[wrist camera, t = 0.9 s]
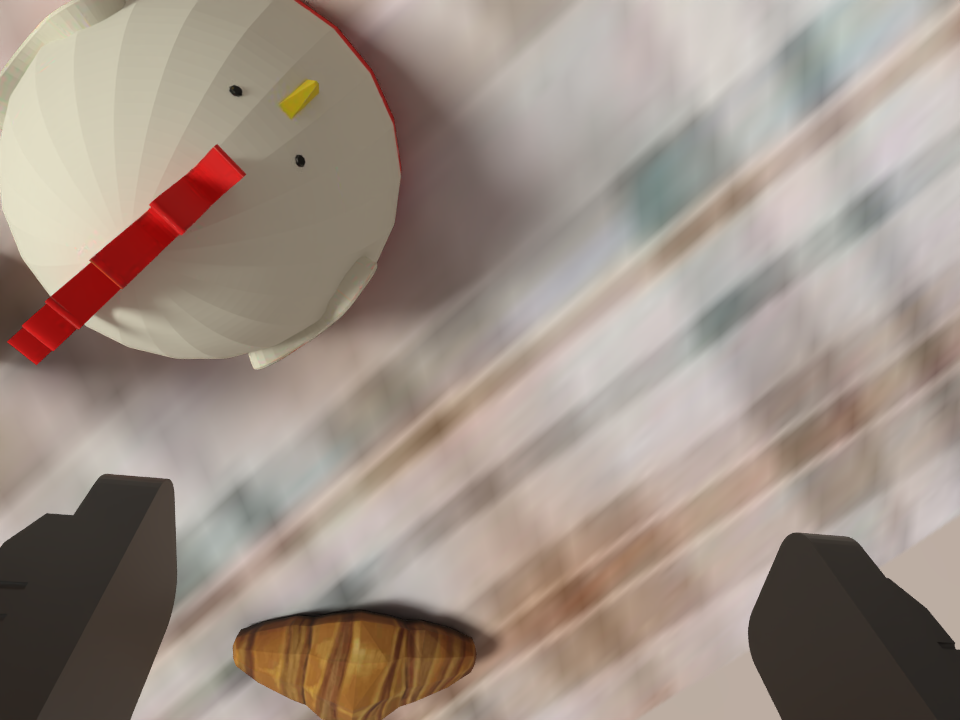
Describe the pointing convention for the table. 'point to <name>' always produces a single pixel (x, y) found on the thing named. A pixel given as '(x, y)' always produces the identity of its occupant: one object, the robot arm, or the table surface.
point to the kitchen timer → (194, 175)
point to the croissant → (353, 661)
